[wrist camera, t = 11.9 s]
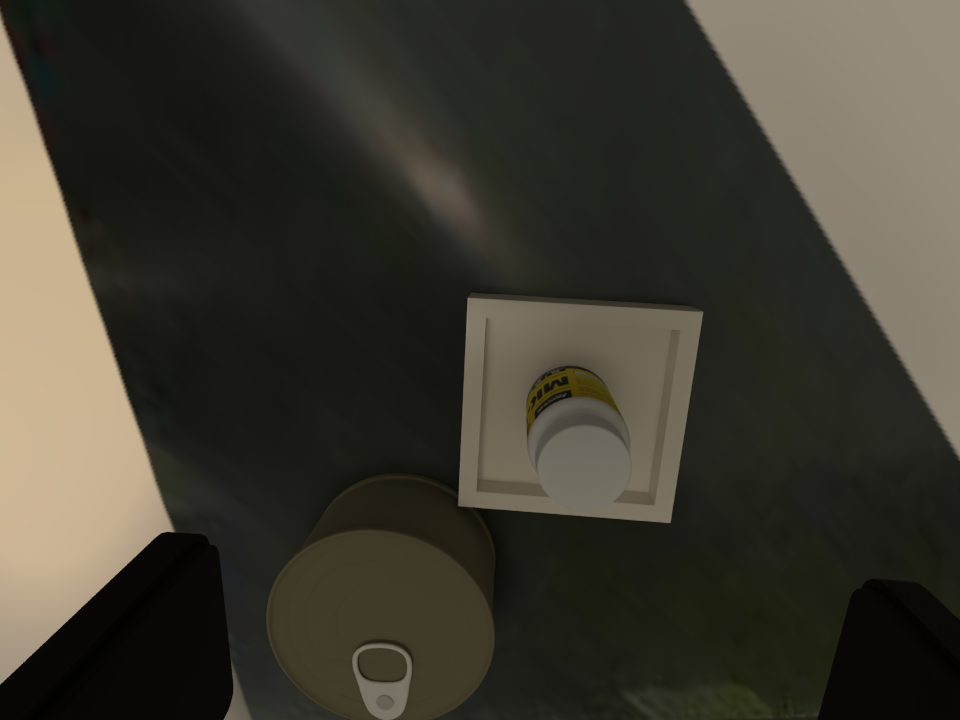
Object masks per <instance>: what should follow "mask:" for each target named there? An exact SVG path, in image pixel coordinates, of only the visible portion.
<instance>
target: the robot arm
mask: <svg viewBox="0 0 960 720" xmlns="http://www.w3.org/2000/svg"><path fill="white" fill-rule="evenodd" d="M232 696H233V677H232V668H231V659H230V650H229V641H228V632H227V622H226V613H225V604H224V595H223V586H222V577H221V568H220V559H219V552H218V549H217V547H216V546H214V545H209V541H208V539H207V538H206V536H204V535H202V534H190V533H175V532H165V533H161V534H160V535H159V536H157V537H156V538H155V539H154V540H153V541H152V542H151V543H150V544H148V545H147V546H146V547H145V548H144V549H143V550H142V551H141V552H140V553H139V554H138V555H137V556H136V557H135V558H134V559H133V560H132V561H130V562H129V563H128V564H127V566H125V567H124V568H123V569H122V570H121V571H120V572H119V573H118V574H117V575H116V576H115V577H114V578H113V579H111V580H110V582H108V583H107V584H106V585H105V586H104V587H103V588H102V589H101V590H100V591H99V592H98V593H97V594H96V595H95V596H94V597H92V598H91V599H90V601H88V603H86V604H85V605H84V606H83V607H82V608H81V609H80V610H79V611H78V612H77V613H76V614H75V615H74V616H72V618H70V619H69V620H68V621H67V622H66V623H65V624H64V625H63V626H62V627H61V628H60V629H59V630H58V631H57V632H56V633H54V634H53V635H52V636H51V637H50V638H49V639H48V640H47V641H46V642H45V643H44V644H43V645H42V646H41V647H40V648H39V649H38V650H37V651H36V652H35V653H33V654H32V656H30V657H29V658H28V659H27V660H26V661H25V662H24V663H23V664H22V665H21V666H20V667H19V668H18V669H17V670H15V672H13V673H12V674H11V675H10V676H9V677H8V678H7V679H6V680H5V681H4V682H3V683H2V684H1V685H0V720H224V718H225V716H226V714H227V712H228V709H229V707H230V703H231V700H232ZM818 720H960V620H959V619H958V618H957V617H956V616H955V615H954V614H953V613H951V612H950V611H949V610H948V609H947V608H946V607H945V606H944V605H943V604H942V603H941V602H940V601H939V600H938V599H936V598H935V597H934V596H933V595H932V594H931V593H930V592H929V591H928V590H927V589H926V588H924V587H923V586H922V585H920V584H919V583H915V582H912V581H897V580H882V579H871V580H867V581H866V582H865V583H864V584H863V586H862V588H861V589H856V590H855V591H854V592H853V593H852V596H851V598H850V602H849V606H848V609H847V613H846V617H845V620H844V624H843V628H842V631H841V635H840V639H839V642H838V646H837V650H836V654H835V657H834V661H833V665H832V668H831V672H830V676H829V679H828V683H827V687H826V690H825V694H824V698H823V701H822V705H821V709H820V713H819V716H818Z"/></svg>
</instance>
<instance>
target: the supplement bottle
mask: <svg viewBox="0 0 960 720" xmlns="http://www.w3.org/2000/svg"><path fill="white" fill-rule="evenodd" d="M526 423H527V449H528V455H529V458H530V461H531V464H532V466H533V468H534V470H535V471H536V473H537V474H538V478H539V482H540V484H541V486H542V488H543V490H544V491H545V492H546V494H547V495H548V496H549V497H550V498H551V499H552V500H554V501H555V502H556V503H558V504H560V505H562V506H564V507H566V508H569V509H573V510H580V511H589V510H595V509H599V508H602V507H604V506H606V505H608V504H610V503H612V502H613V501H614V500H616V499H617V498H618V497H619V496H620V495H621V494H622V493H623V491H624V490H625V489H626V487H627V485H628V483H629V480H630V478H631V472H632V461H631V456H630V435H629V431H628V428H627V425H626V423H625V421H624V419H623V417H622V415H621V413H620V411H619V409H618V407H617V405H616V403H615V401H614V399H613V398H612V396H611V394H610V392H609V390H608V388H607V386H606V385H605V383H604V382H603V380H602V379H601V378H600V377H599V376H598V375H597V374H595V373H594V372H593V371H591V370H589V369H587V368H585V367H581V366H577V365H560V366H557V367H553V368H551V369H549V370H547V371H545V372H544V373H543V374H541V375H540V376H539V377H538V378H537V379H536V380H535V382H534V383H533V385H532V386H531V388H530V390H529V393H528V396H527V401H526Z"/></svg>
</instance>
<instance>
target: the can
mask: <svg viewBox="0 0 960 720" xmlns="http://www.w3.org/2000/svg"><path fill="white" fill-rule="evenodd" d="M458 498H459V492H458V491H456V490H455V489H453V488H451V487H450V486H448V485H446V484H444V483H442V482H440V481H437V480H435V479H432V478H429V477H425V476H421V475H417V474H410V473H388V474H381V475H376V476H372V477H369V478H366V479H363V480H361V481H359V482H357V483H355V484H353V485H351V486H350V487H348V488H347V489H345V490H344V491H343V492H341V493H340V494H339V495H338V496H337V497H336V498H335V499H334V500H333V501H332V502H331V504H330V505H329V506H328V508H327V509H326V510H325V512H324V514H323V515H322V517H321V519H320V520H319V522H318V523H317V525H316V526H315V527H314V529H313V530H312V532H311V533H310V535H309V536H308V538H307V539H306V541H305V542H304V544H303V545H302V547H301V548H300V550H299V551H298V552H297V553H296V554H295V555H294V556H293V557H292V558H291V559H290V560H289V561H288V562H287V563H286V565H285V566H284V568H283V569H282V570H281V572H280V573H279V575H278V577H277V579H276V580H275V582H274V585H273V587H272V590H271V592H270V596H269V599H268V605H267V613H266V623H267V632H268V637H269V641H270V644H271V648H272V650H273V653H274V655H275V657H276V659H277V661H278V663H279V665H280V666H281V668H282V669H283V671H284V672H285V674H286V675H287V676H288V678H289V679H290V680H291V681H292V683H293V684H294V685H295V686H296V687H297V688H298V689H299V690H300V691H301V692H303V693H304V694H305V695H306V696H307V697H309V698H310V699H311V700H313V701H314V702H315V703H317V704H319V705H320V706H322V707H323V708H325V709H327V710H329V711H331V712H333V713H335V714H337V715H340V716H342V717H345V718H348V719H351V720H431V719H434V718H437V717H439V716H441V715H444V714H446V713H448V712H449V711H451V710H453V709H454V708H456V707H457V706H459V705H460V704H461V703H463V702H464V701H465V700H466V699H467V698H468V697H470V696H471V694H472V693H473V692H474V691H475V690H476V689H477V688H478V686H479V685H480V683H481V682H482V680H483V679H484V677H485V675H486V673H487V671H488V668H489V666H490V664H491V660H492V656H493V651H494V645H495V624H494V617H493V595H494V573H495V560H496V558H495V548H494V543H493V539H492V536H491V533H490V531H489V528H488V526H487V524H486V522H485V520H484V519H483V517H482V516H481V514H480V513H479V511H478V510H477V509H476V508H475V507H463V506H458Z"/></svg>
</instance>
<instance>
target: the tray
mask: <svg viewBox="0 0 960 720" xmlns="http://www.w3.org/2000/svg"><path fill="white" fill-rule="evenodd" d="M702 317H703V312H702V311H700V310H698V309H696V308H694V307H692V306H687V305H670V304H654V303H637V302H621V301H604V300H587V299H571V298H554V297H537V296H521V295H504V294H488V293H470V295H469V297H468V304H467V325H466V347H465V368H464V390H463V411H462V433H461V455H460V476H459V498H458V506H463V507H475V508H488V509H501V510H513V511H526V512H539V513H551V514H564V515H577V516H589V517H602V518H614V519H627V520H640V521H652V522H665V523H670V522H671V515H672V509H673V503H674V496H675V490H676V483H677V477H678V471H679V464H680V458H681V451H682V445H683V439H684V432H685V426H686V419H687V413H688V407H689V400H690V394H691V387H692V381H693V374H694V368H695V362H696V355H697V349H698V342H699V336H700V330H701V323H702ZM560 365H577V366H581V367H585V368H587V369H589V370H591V371H593V372H594V373H595V374H597V375H598V376H599V377H600V378H601V379H602V380H603V382H604V383H605V385H606V386H607V388H608V390H609V392H610V394H611V396H612V398H613V399H614V401H615V403H616V405H617V407H618V409H619V411H620V413H621V415H622V417H623V419H624V421H625V423H626V425H627V428H628V431H629V435H630V456H631V461H632V472H631V478H630V480H629V483H628V485H627V487H626V489H625V490H624V491H623V493H622V494H621V495H620V496H619V497H618V498H617V499H616V500H614V501H613V502H612V503H610V504H608V505H606V506H604V507H602V508H599V509H595V510H589V511H580V510H573V509H569V508H566V507H564V506H562V505H560V504H558V503H556V502H555V501H554V500H552V499H551V498H550V497H549V496H548V495H547V494H546V492H545V491H544V490H543V488H542V486H541V484H540V482H539V478H538V474H537V473H536V471H535V470H534V468H533V466H532V464H531V461H530V458H529V455H528V449H527V423H526V401H527V396H528V393H529V390H530V388H531V386H532V385H533V383H534V382H535V380H536V379H537V378H538V377H539V376H540V375H541V374H543V373H544V372H545V371H547V370H549V369H551V368H553V367H557V366H560Z"/></svg>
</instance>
